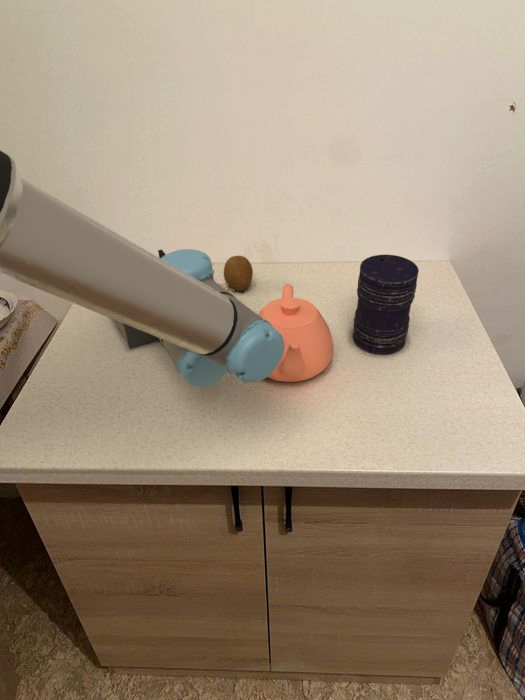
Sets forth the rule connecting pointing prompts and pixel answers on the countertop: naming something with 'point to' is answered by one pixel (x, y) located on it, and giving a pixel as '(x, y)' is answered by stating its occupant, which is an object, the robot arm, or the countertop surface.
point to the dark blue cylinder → (384, 303)
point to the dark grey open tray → (135, 335)
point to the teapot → (299, 337)
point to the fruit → (238, 273)
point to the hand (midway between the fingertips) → (135, 262)
